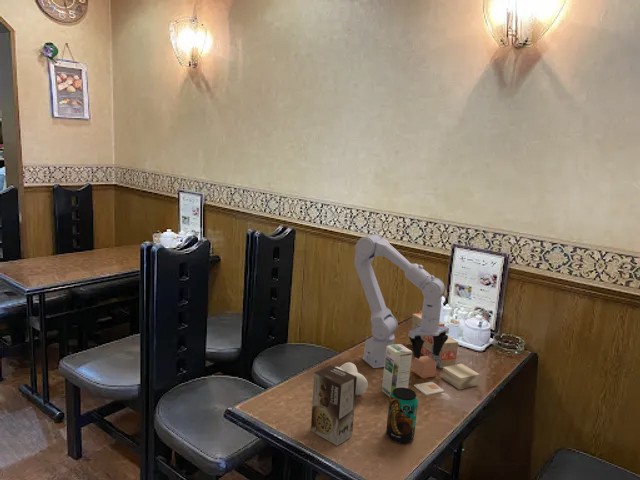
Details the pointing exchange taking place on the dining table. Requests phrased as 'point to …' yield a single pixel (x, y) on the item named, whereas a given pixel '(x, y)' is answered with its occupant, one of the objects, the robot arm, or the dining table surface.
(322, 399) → the coffee box
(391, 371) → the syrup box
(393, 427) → the beverage can
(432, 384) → the card
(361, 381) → the white lobed shape
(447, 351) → the stack of blocks
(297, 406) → the dining table surface
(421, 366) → the terracotta cube
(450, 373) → the ash block
